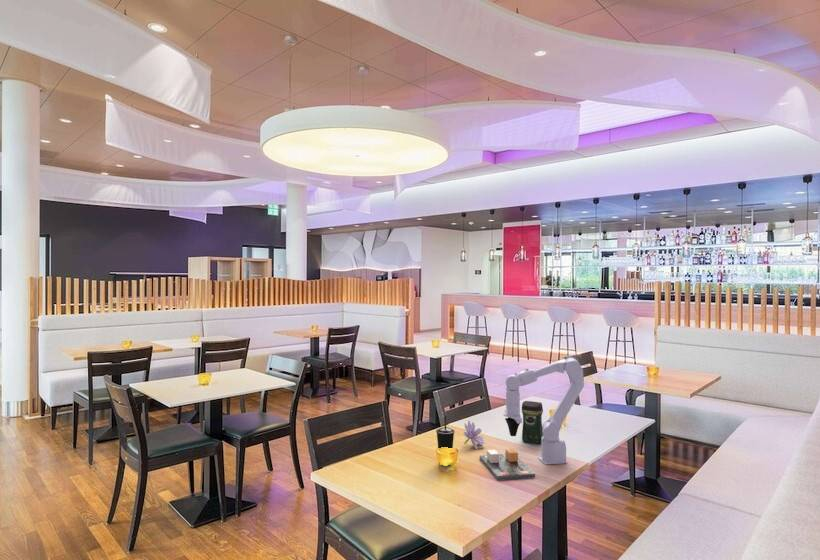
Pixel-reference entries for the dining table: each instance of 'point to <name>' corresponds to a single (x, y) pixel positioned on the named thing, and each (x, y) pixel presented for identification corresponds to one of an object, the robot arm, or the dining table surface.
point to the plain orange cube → (511, 455)
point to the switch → (493, 456)
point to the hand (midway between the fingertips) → (513, 435)
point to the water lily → (473, 434)
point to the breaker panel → (507, 468)
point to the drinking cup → (445, 436)
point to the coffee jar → (532, 422)
